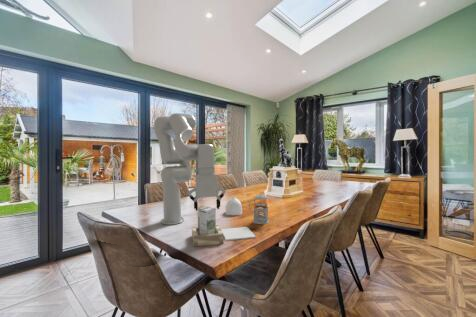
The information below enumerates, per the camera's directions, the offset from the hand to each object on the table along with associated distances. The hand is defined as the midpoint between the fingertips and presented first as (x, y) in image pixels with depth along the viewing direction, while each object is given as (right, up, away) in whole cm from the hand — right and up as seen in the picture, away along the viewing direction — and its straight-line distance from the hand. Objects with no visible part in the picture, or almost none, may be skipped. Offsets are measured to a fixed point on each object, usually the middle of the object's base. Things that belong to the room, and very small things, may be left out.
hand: (207, 209), depth 106 cm
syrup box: (0, -14, +1) cm, 14 cm away
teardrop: (+11, -12, +45) cm, 48 cm away
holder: (0, -14, +1) cm, 14 cm away
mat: (+14, -14, +8) cm, 21 cm away
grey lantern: (+26, -13, +27) cm, 40 cm away
